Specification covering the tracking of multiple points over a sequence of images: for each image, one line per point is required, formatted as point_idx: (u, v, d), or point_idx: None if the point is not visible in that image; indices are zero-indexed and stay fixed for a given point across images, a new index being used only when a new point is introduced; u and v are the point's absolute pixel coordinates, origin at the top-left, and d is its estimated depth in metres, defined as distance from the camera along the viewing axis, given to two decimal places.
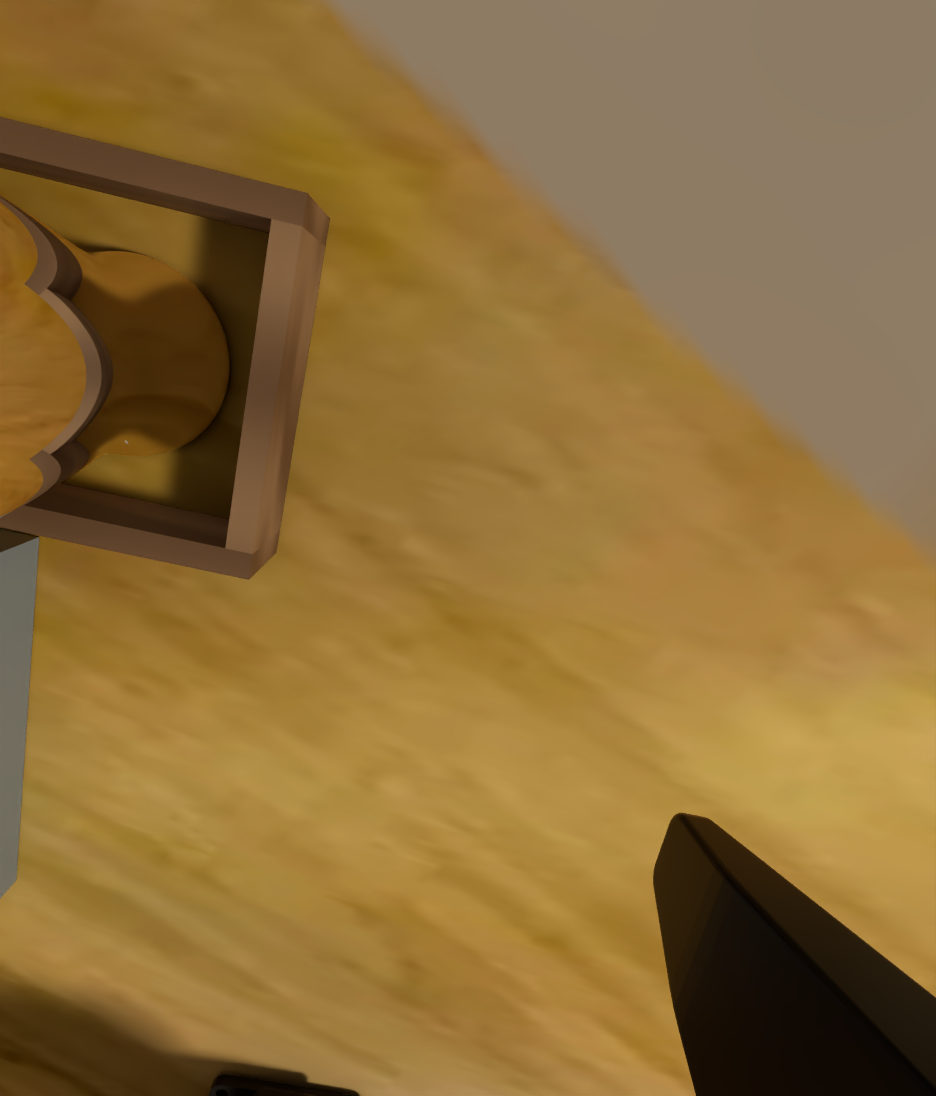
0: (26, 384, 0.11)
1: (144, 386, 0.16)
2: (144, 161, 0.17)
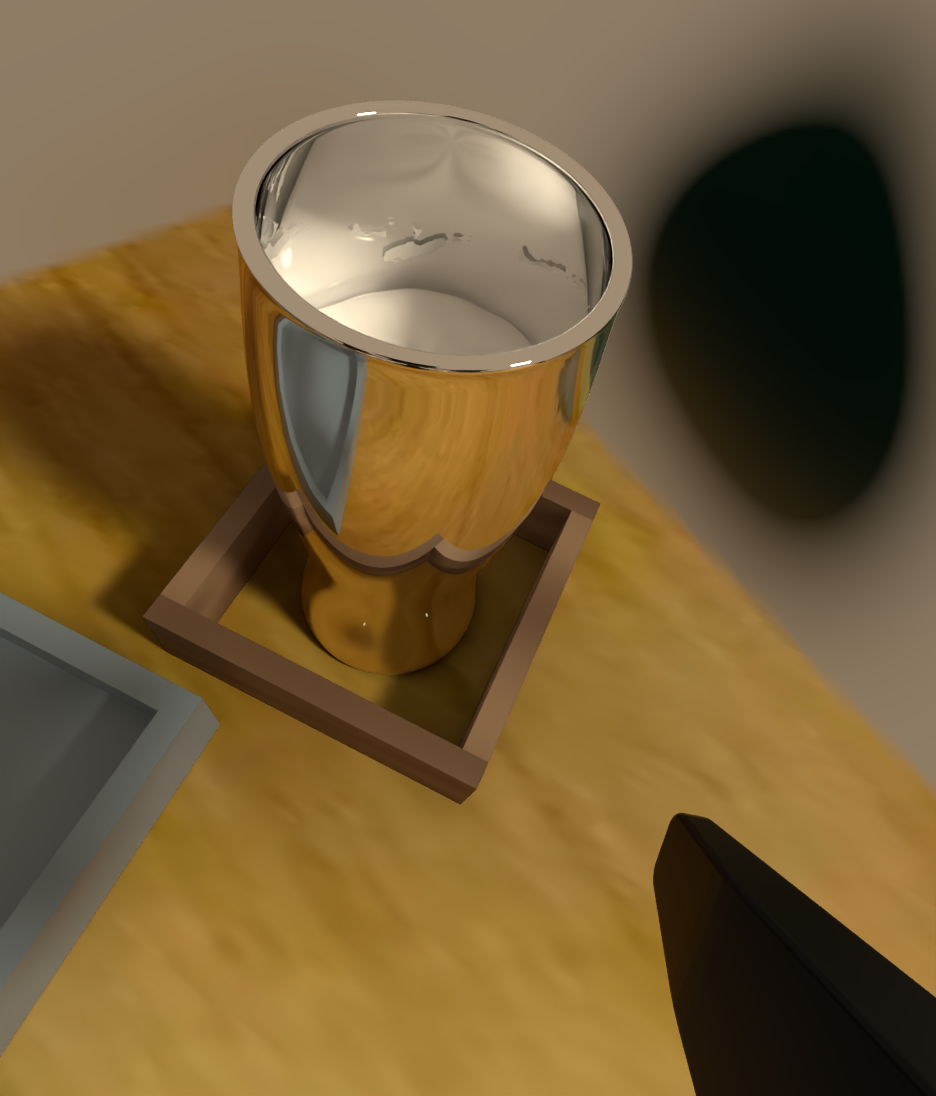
0: (568, 444, 0.14)
1: None
2: None
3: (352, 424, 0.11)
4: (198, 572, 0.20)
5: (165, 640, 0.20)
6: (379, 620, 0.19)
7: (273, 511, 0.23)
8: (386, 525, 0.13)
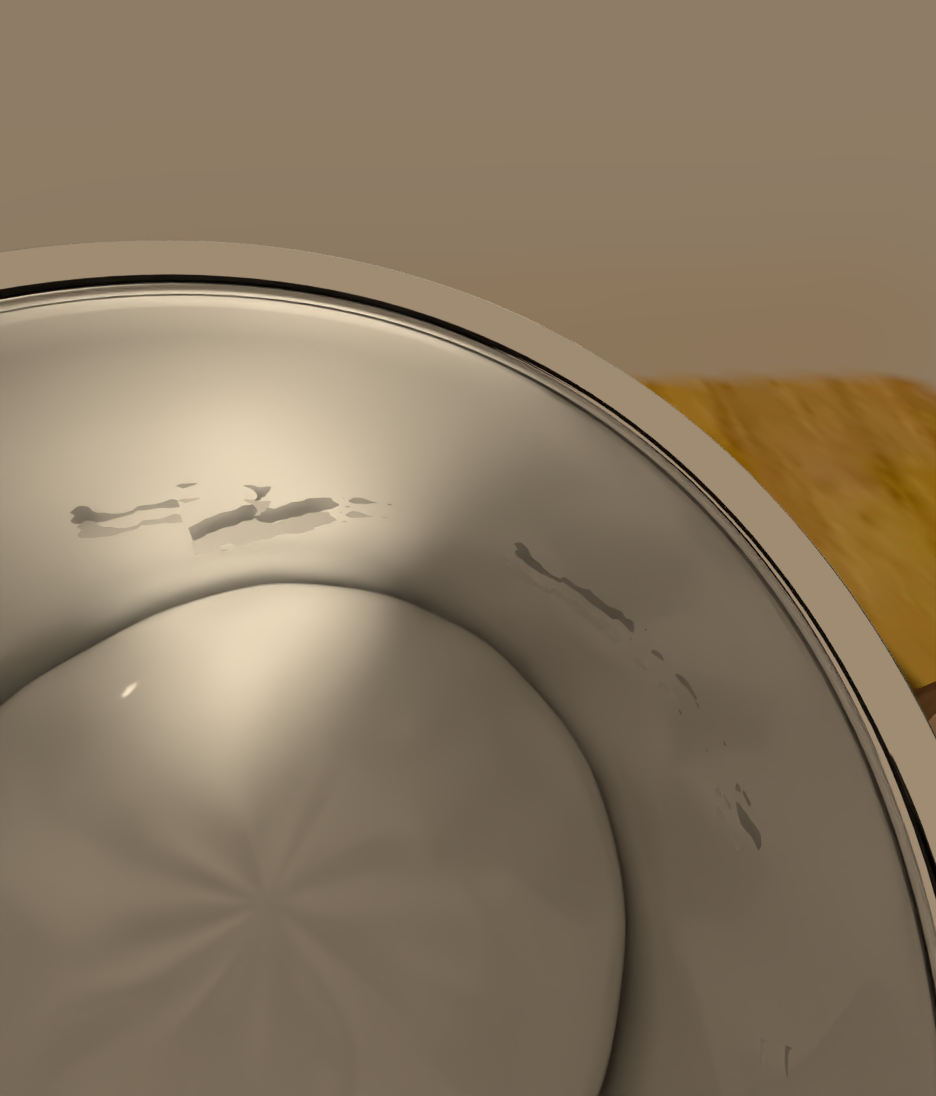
0: None
1: None
2: None
3: None
4: None
5: None
6: None
7: None
8: None
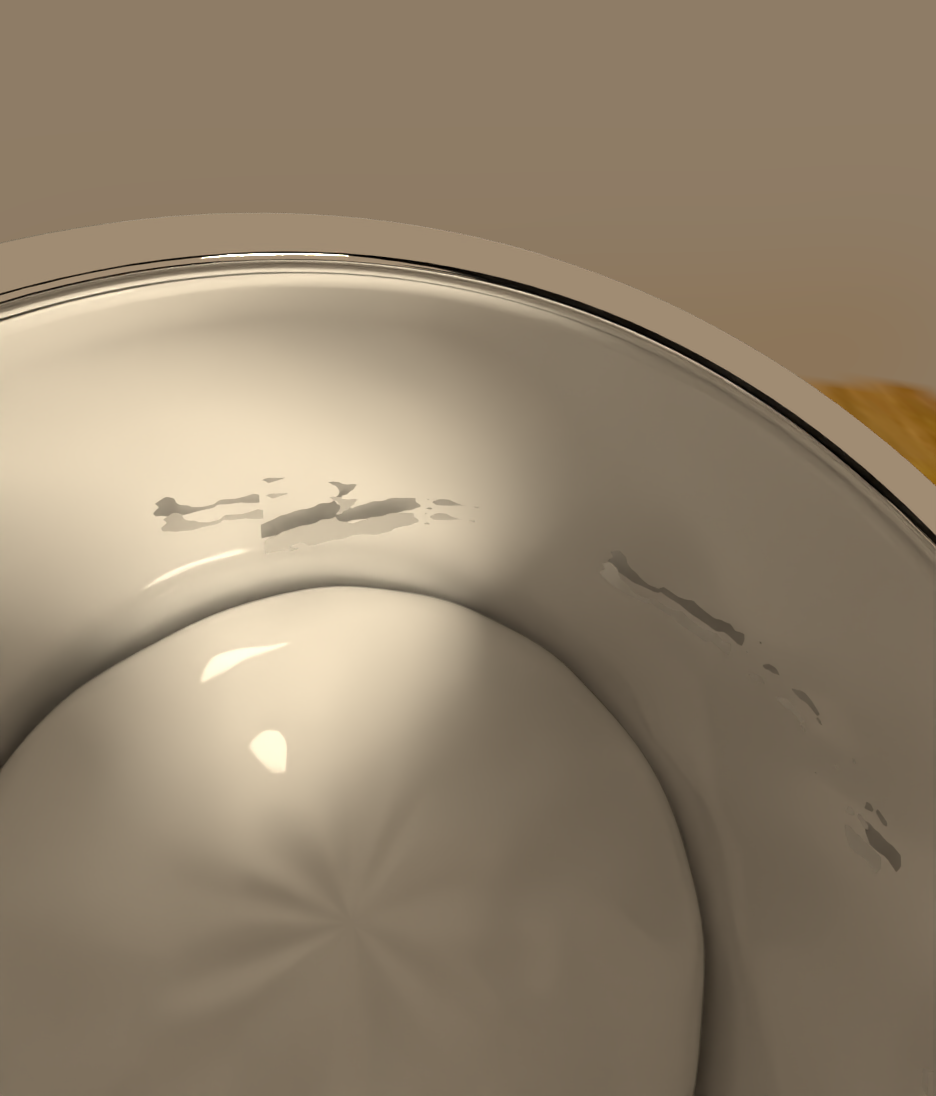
0: None
1: None
2: None
3: None
4: None
5: None
6: None
7: None
8: None
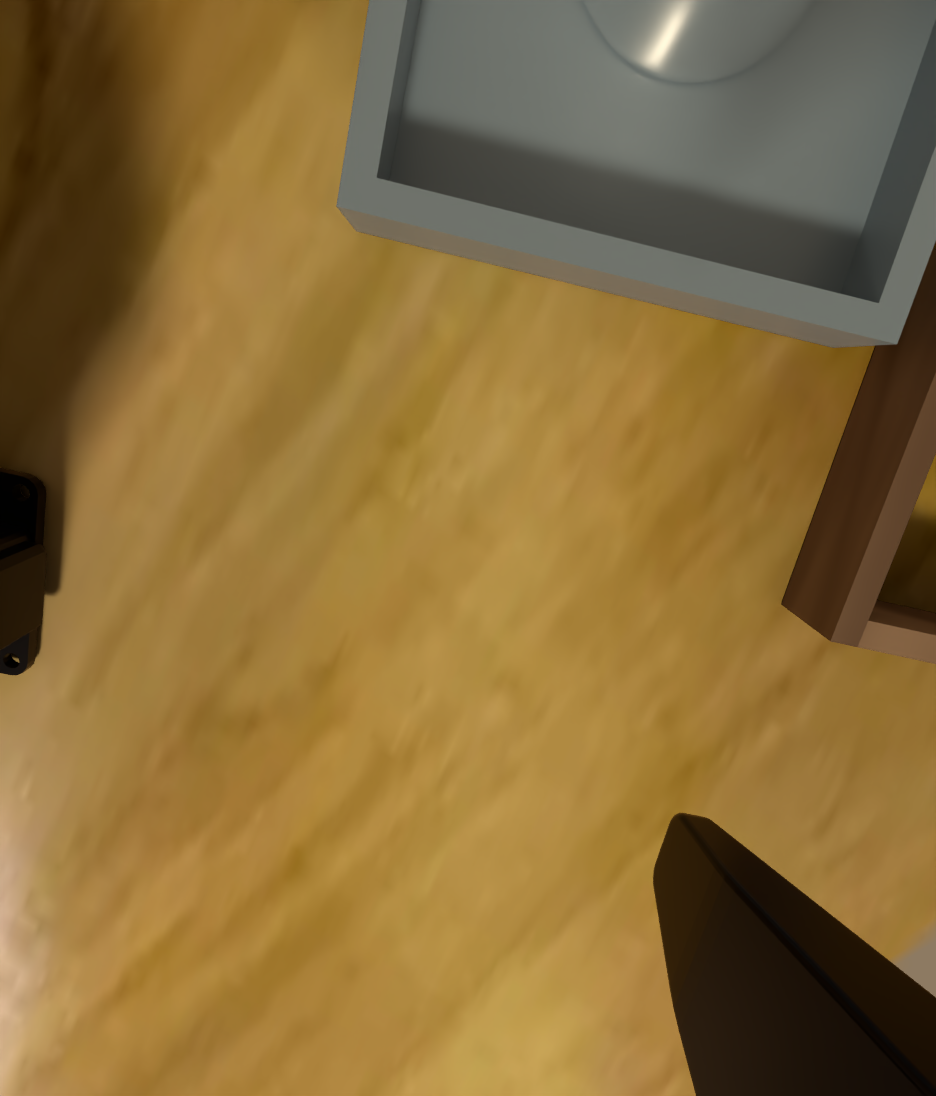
0: None
1: None
2: None
3: None
4: None
5: None
6: None
7: None
8: None
